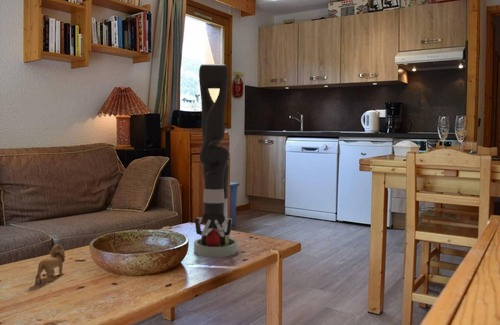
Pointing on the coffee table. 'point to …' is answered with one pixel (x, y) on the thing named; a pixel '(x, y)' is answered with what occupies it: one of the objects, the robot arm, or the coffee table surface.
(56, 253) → the lion figurine
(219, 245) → the lime
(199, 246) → the bowl
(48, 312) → the coffee table surface
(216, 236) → the onion
